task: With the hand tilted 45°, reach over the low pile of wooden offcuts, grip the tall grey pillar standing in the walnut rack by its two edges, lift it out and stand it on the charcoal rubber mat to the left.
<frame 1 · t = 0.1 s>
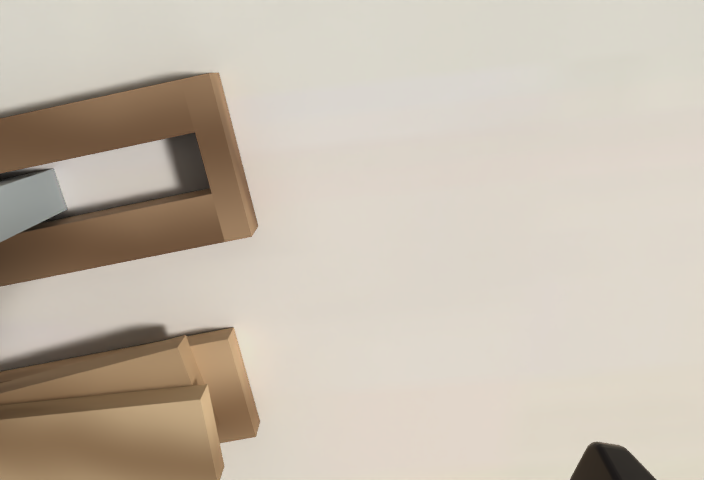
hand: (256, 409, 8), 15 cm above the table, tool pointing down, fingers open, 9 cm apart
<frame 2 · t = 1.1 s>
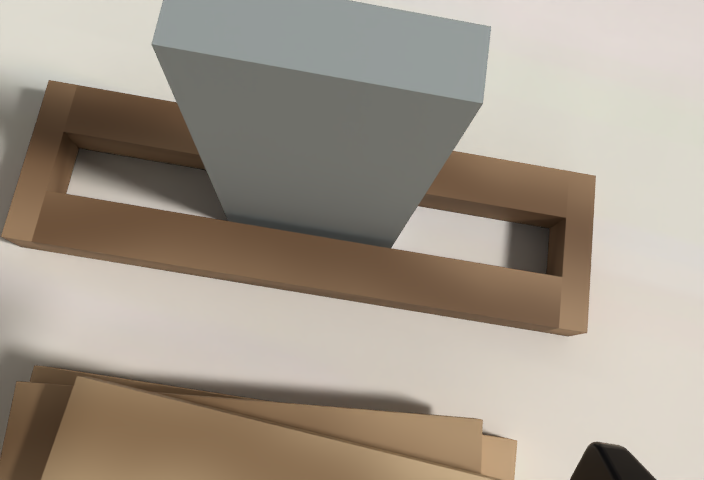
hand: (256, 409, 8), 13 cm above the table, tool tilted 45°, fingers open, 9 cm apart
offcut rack: (313, 216, 23), on the table
tall grey pillar: (313, 216, 23), resting in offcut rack
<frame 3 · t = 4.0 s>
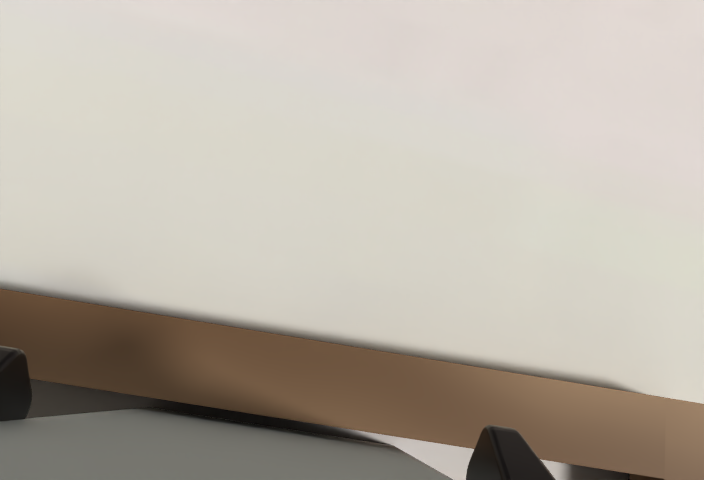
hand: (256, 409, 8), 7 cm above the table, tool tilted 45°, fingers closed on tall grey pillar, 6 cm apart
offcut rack: (265, 461, 15), on the table
tall grey pillar: (266, 460, 15), resting in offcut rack, touching gripper
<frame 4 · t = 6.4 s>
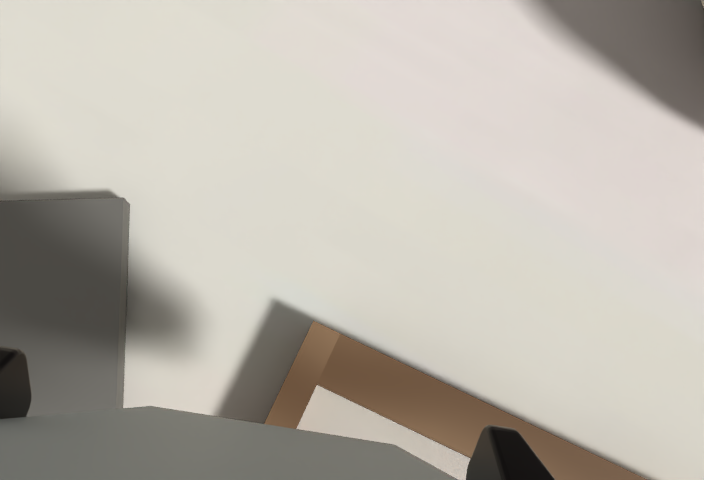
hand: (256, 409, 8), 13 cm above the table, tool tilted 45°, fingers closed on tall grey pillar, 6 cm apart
tall grey pillar: (267, 459, 15), point 6 cm above the table, touching gripper
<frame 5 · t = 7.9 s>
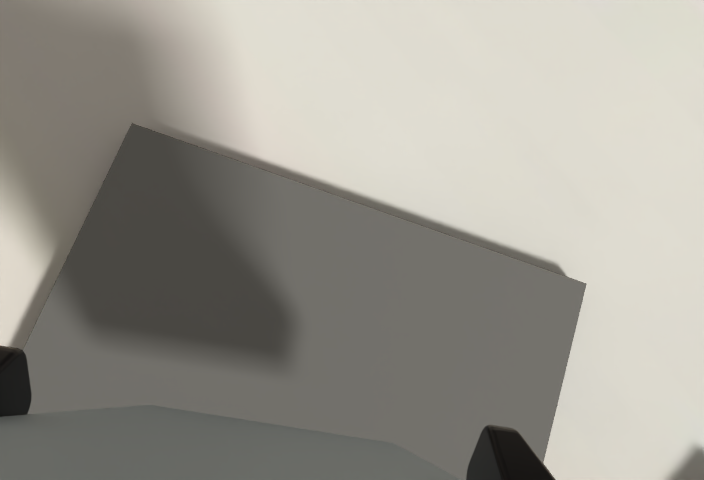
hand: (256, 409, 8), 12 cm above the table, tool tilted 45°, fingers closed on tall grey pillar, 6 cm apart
tall grey pillar: (266, 458, 15), point 4 cm above the table, touching gripper
pad: (274, 441, 19), on the table
when the fingers open (9 cm above the table, at t = 9.2 s): tall grey pillar drops 1 cm, resting on pad.
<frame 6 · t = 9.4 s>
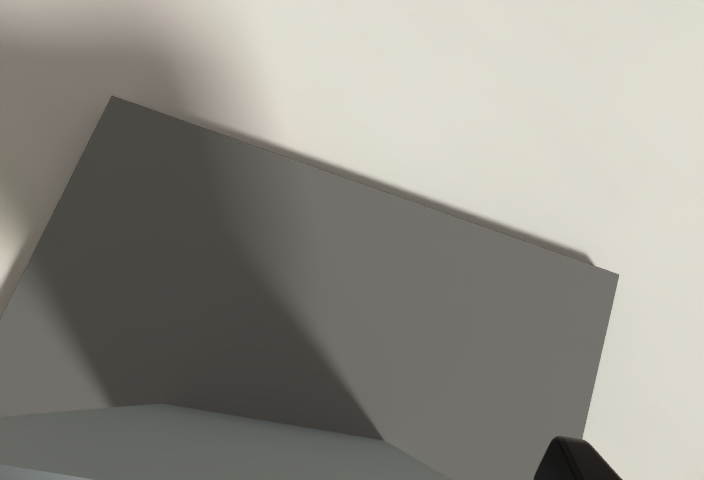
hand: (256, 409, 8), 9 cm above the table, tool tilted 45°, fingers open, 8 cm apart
tall grey pillar: (268, 453, 16), point 1 cm above the table, touching pad
pad: (270, 451, 17), on the table
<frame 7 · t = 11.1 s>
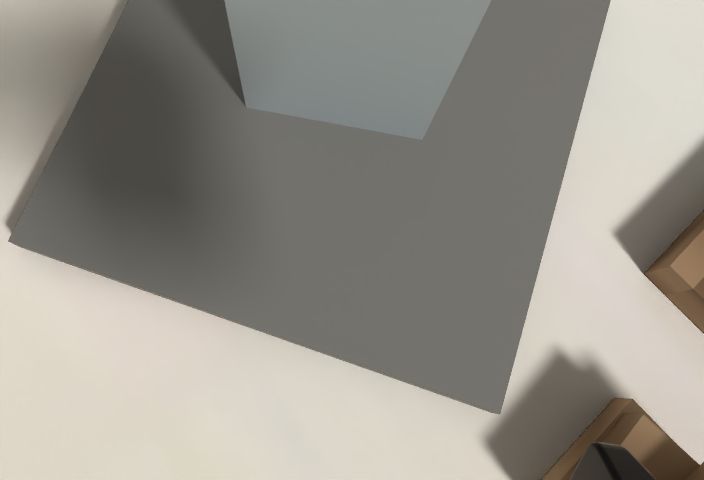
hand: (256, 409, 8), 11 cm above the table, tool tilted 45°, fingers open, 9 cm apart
tall grey pillar: (338, 102, 21), point 1 cm above the table, touching pad
pad: (337, 113, 21), on the table
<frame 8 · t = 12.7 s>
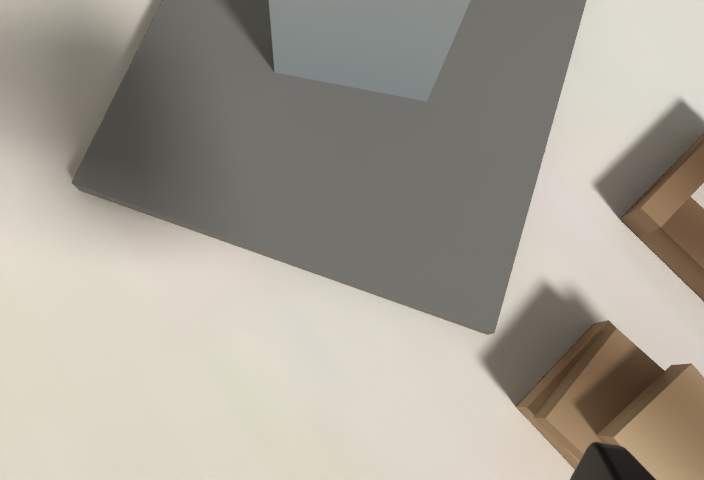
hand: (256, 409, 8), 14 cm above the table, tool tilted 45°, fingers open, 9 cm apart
tall grey pillar: (354, 68, 24), point 1 cm above the table, touching pad
pad: (353, 79, 24), on the table
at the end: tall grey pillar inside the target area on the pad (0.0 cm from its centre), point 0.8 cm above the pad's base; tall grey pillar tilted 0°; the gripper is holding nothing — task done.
